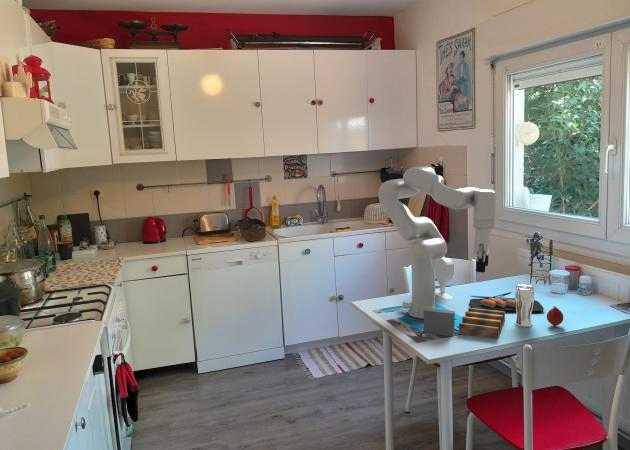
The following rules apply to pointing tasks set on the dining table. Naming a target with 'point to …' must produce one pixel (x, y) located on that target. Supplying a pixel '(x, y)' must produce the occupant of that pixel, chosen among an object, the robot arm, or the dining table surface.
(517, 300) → the beer glass
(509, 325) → the dining table surface
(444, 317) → the grey rectangular block
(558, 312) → the onion
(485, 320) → the rack
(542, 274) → the dining table surface
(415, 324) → the dining table surface
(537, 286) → the dining table surface
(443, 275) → the heart sculpture
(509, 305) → the sushi plate
